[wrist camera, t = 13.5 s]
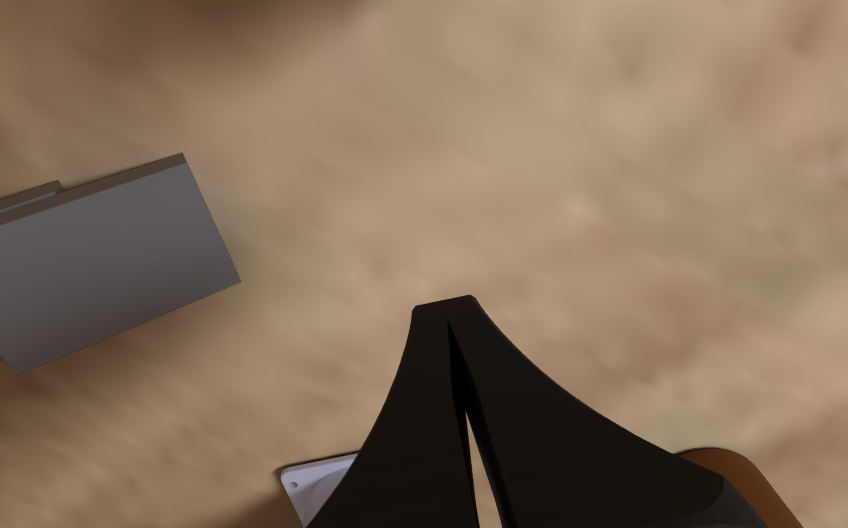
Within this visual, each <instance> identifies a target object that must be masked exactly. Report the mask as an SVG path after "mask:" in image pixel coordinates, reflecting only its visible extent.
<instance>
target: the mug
mask: <svg viewBox="0 0 848 528" xmlns="http://www.w3.org/2000/svg"><path fill="white" fill-rule="evenodd" d="M679 457H682V458H684V459H686V460H689V461H691V462H693V463H695V464H698V465H700V466H702V467H705V468H707V469H709V470H712V471H714V472H716V473H719V474H721V475H723V476H725V477H726V478H727V479H728V481H729V482H730V483H731V484H732V485H733V486H734V487H735V488H736V489H737V491H738V492H739V493H740V494H741V495H742V496H743V497H744V498H745V500H746V501H747V502H748V503H749V504H750V505H751V507H752V508H753V509H754V510H755V511H756V512H757V513H758V515H759V516H760V517H761V518H762V520H763V521H764V523H765V524H766V525H767V527H768V528H803V526H802V525H801V524H800V522H799V521H798V520H797V519H796V517H795V516H794V515H793V513H792V512H791V511H790V510H789V508H788V507H787V506H786V504H785V503H784V502H783V501H782V499H781V498H780V497H779V496H778V494H777V493H776V492H775V490H774V489H773V488H772V486H771V485H770V484H769V482H768V481H767V480H766V478H765V477H764V476H763V475H762V473H761V472H760V471H759V470H758V468H757V467H756V466H755V465H754V464H753V463H752V462H751V461H749V460H748V459H747V458H746V457H744V456H742V455H741V454H738V453H736V452H733V451H730V450H726V449H701V450H696V451H691V452H688V453H684V454H682V455H679Z"/></svg>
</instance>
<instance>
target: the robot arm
mask: <svg viewBox="0 0 848 528" xmlns="http://www.w3.org/2000/svg"><path fill="white" fill-rule="evenodd" d="M465 410H466V411H465ZM466 413H467V416H468V419H469V422H470V425H471V428H472V431H473V434H474V437H475V440H476V444H477V447H478V450H479V453H480V456H481V459H482V462H483V465H484V468H485V471H486V474H487V477H488V480H489V483H490V486H491V489H492V492H493V495H494V498H495V502H496V505H497V509H498V512H499V516H500V520H501V524H502V528H768V527H767V525H766V524H765V523H764V521H763V520H762V518H761V517H760V516H759V515H758V513H757V512H756V511H755V510H754V509H753V508H752V507H751V505H750V504H749V503H748V502H747V501H746V500H745V498H744V497H743V496H742V495H741V494H740V493H739V492H738V491H737V489H736V488H735V487H734V486H733V485H732V484H731V483H730V482H729V481H728V479H727V478H726V477H725V476H723V475H721V474H719V473H716V472H714V471H712V470H709V469H707V468H705V467H702V466H700V465H698V464H695V463H693V462H691V461H689V460H686V459H684V458H682V457H679V456H677V455H675V454H672V453H670V452H668V451H666V450H664V449H662V448H660V447H658V446H656V445H654V444H652V443H650V442H648V441H646V440H644V439H642V438H640V437H638V436H636V435H635V434H633V433H631V432H630V431H628V430H626V429H625V428H623V427H621V426H619V425H618V424H616V423H614V422H613V421H611V420H609V419H608V418H606V417H604V416H603V415H601V414H599V413H598V412H596V411H595V410H593V409H592V408H590V407H589V406H587V405H586V404H584V403H583V402H581V401H580V400H579V399H577V398H576V397H574V396H573V395H572V394H570V393H569V392H568V391H566V390H565V389H564V388H562V387H561V386H560V385H558V384H557V383H556V382H555V381H553V380H552V379H551V378H550V377H548V376H547V375H546V374H545V373H544V372H543V371H541V370H540V369H539V368H538V367H537V366H536V365H535V364H534V363H532V362H531V361H530V360H529V359H528V358H527V357H526V356H525V355H524V354H523V353H522V352H521V351H520V350H519V349H518V348H517V347H516V346H515V345H514V344H513V343H512V342H511V341H510V340H509V339H508V338H507V337H506V336H505V335H504V334H503V333H502V332H501V331H500V329H499V328H498V327H497V326H496V325H495V324H494V322H493V321H492V320H491V319H490V318H489V316H488V315H487V314H486V313H485V311H484V310H483V309H482V307H481V306H480V304H479V303H478V301H477V299H476V298H475V297H473V296H472V295H466V296H461V297H456V298H451V299H446V300H441V301H437V302H432V303H427V304H422V305H417V306H415V308H414V309H413V310H412V317H411V324H410V329H409V334H408V338H407V342H406V346H405V349H404V352H403V355H402V359H401V362H400V365H399V368H398V371H397V374H396V376H395V379H394V381H393V384H392V386H391V389H390V391H389V394H388V396H387V399H386V401H385V403H384V405H383V408H382V410H381V412H380V414H379V416H378V418H377V420H376V422H375V424H374V426H373V428H372V430H371V432H370V434H369V435H368V437H367V439H366V441H365V443H364V444H363V446H362V448H361V449H360V451H359V453H357V454H352V455H347V456H342V457H337V458H332V459H327V460H322V461H317V462H312V463H307V464H303V465H298V466H293V467H288V468H285V469H284V470H282V472H281V477H280V478H281V482H282V484H283V486H284V488H285V490H286V492H287V494H288V496H289V498H290V500H291V502H292V504H293V506H294V508H295V510H296V512H297V514H298V516H299V518H300V520H301V522H302V525H303V528H480V526H479V520H478V514H477V507H476V500H475V491H474V482H473V473H472V464H471V455H470V446H469V437H468V428H467V420H466Z"/></svg>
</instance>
